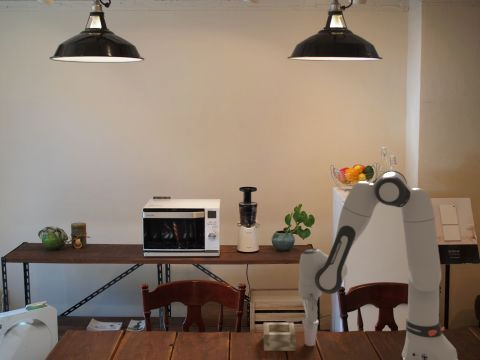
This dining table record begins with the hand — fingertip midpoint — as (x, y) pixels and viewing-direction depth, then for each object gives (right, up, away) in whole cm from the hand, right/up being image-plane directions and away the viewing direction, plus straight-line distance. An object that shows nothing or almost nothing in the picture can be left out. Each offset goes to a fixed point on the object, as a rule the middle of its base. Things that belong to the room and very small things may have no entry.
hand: (309, 323), depth 245 cm
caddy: (-12, -8, +1) cm, 14 cm away
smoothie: (+1, -8, +1) cm, 8 cm away
